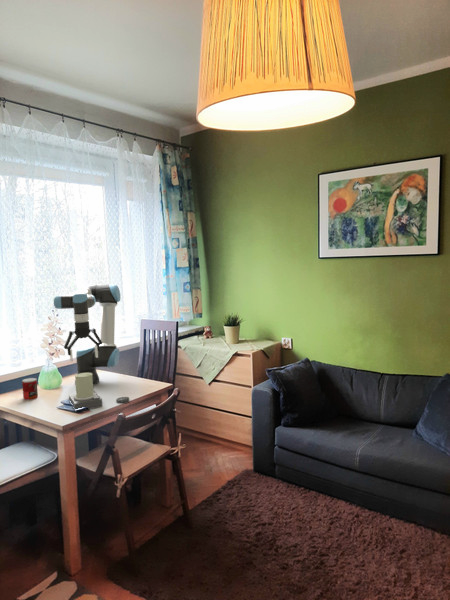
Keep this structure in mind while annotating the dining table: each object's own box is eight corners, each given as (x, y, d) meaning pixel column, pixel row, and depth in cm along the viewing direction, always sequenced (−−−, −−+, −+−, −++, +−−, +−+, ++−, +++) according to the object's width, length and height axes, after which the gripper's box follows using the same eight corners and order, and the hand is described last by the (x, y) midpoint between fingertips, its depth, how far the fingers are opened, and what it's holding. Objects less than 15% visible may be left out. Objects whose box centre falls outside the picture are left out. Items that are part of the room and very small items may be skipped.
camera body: (69, 402, 241) (68, 393, 240) (94, 397, 248) (94, 389, 247) (75, 411, 225) (74, 401, 225) (102, 406, 232) (101, 397, 232)
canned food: (31, 400, 245) (29, 381, 244) (20, 399, 248) (18, 380, 247) (40, 396, 252) (39, 378, 252) (30, 395, 255) (29, 377, 254)
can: (88, 398, 231) (87, 376, 230) (72, 397, 232) (71, 375, 231) (96, 393, 240) (95, 371, 239) (81, 392, 241) (80, 371, 240)
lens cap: (113, 403, 238) (113, 400, 238) (122, 398, 244) (121, 396, 244) (123, 404, 235) (123, 401, 235) (132, 399, 241) (131, 397, 241)
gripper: (58, 324, 226) (61, 363, 229) (106, 319, 238) (108, 357, 241) (56, 322, 233) (59, 360, 235) (102, 318, 245) (105, 354, 247)
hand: (84, 359), depth 238 cm, fingers open, 13 cm apart
